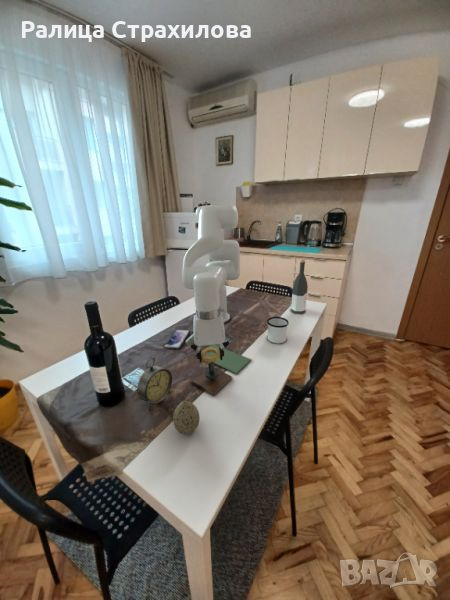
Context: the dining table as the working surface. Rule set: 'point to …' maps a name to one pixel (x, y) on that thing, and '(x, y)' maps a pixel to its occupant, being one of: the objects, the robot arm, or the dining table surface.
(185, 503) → the dining table surface
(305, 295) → the wine bottle
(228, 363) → the mat
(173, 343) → the smartphone
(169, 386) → the alarm clock
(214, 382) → the stand
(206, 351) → the ring
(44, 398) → the dining table surface
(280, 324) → the mug
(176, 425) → the decorative egg
